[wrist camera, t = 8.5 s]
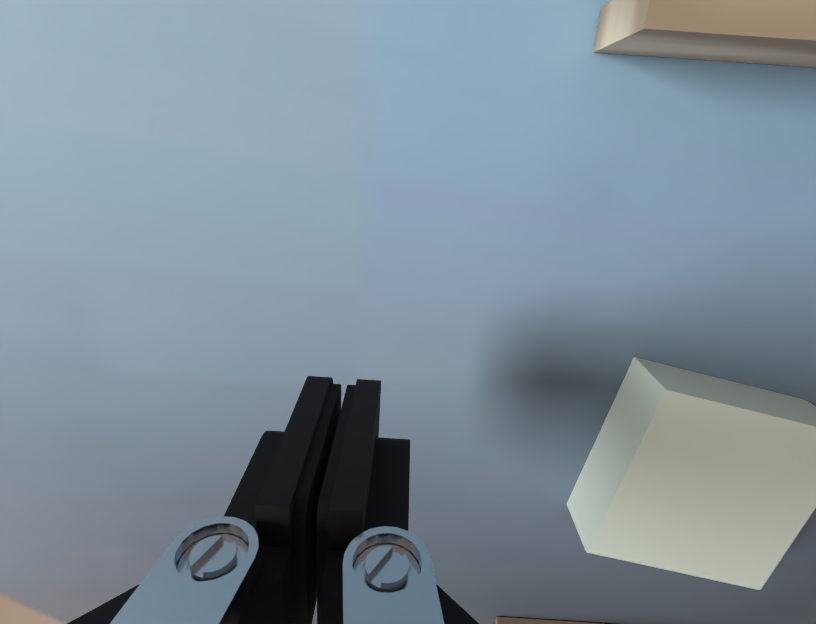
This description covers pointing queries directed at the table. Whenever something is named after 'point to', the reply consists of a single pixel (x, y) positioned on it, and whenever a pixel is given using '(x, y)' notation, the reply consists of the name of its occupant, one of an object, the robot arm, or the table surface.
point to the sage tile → (698, 475)
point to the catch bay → (706, 48)
